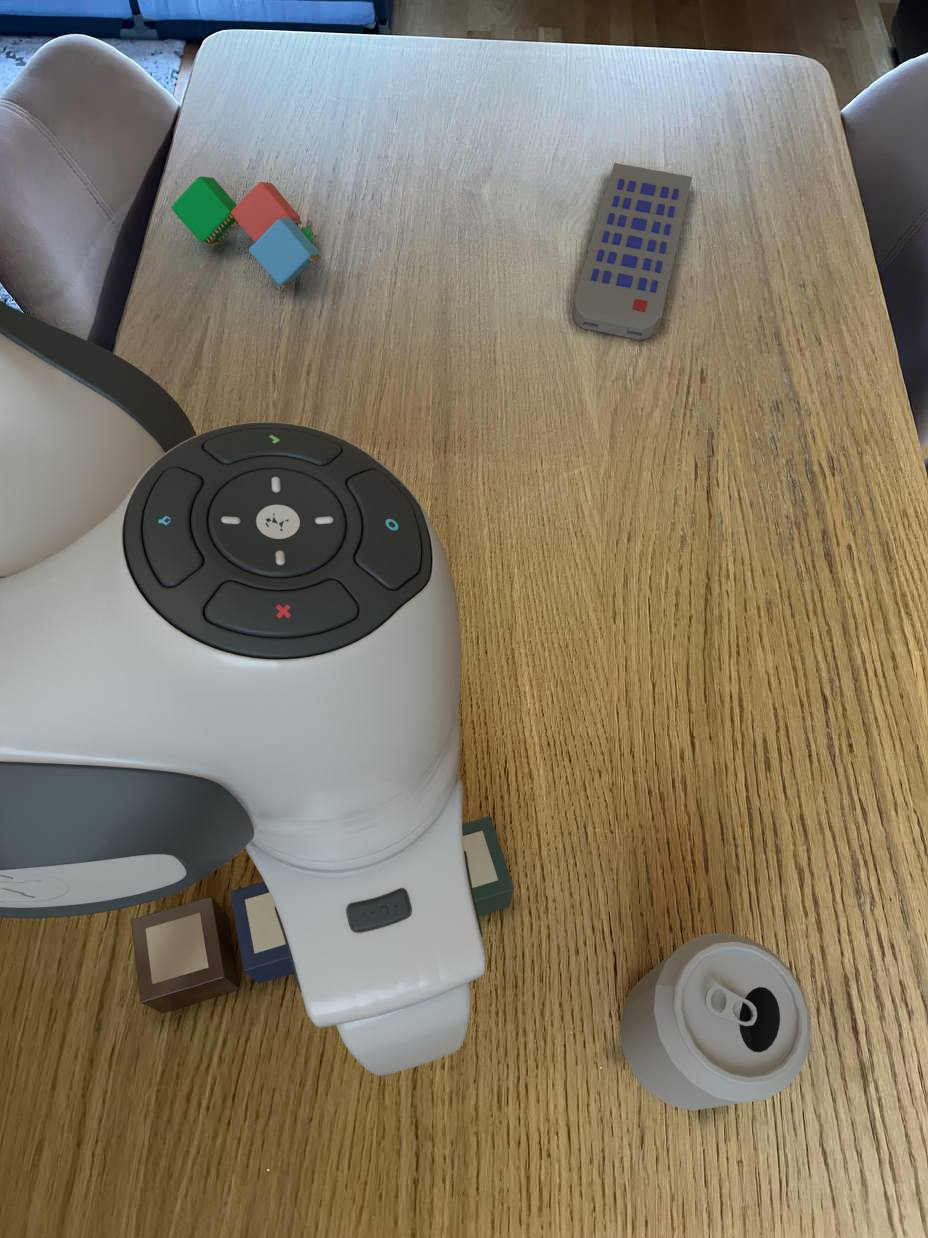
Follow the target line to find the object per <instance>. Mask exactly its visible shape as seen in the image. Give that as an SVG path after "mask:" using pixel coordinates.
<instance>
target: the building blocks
mask: <svg viewBox="0 0 928 1238" xmlns="http://www.w3.org/2000/svg"><path fill="white" fill-rule="evenodd" d="M170 208H171V211H173V213H174V214H175V215H176V216H177V217H178V218H179V219H180V221H181V222H182V223H183V225H185V227H187V229H188V230H189V231H190V232H191V233H192V234H193V235H194V237H195V238H196V239H197V240H198V241H199V242H200V243H201V244H204V246H212V245H213V246H214V245H219V244H220V242H223V239H225V238H226V237H225V236H228V235H229V234H230V233H231V231H233V230H234V228H236V227H237V226H236V224H237V225H239V226H240V227H241V228H242V229H243V230H244V231H245V233H246V234H247V235H248V236H249V237H250V238H251V240H252V241H253V242H254V243H253V244H252V245H251V246H250V247H249V249H248V252H249V253H250V254H251V256H252V257H253V258H254V259H255V261H257V263H258V265H260V266H261V267H262V268H263V269H264V271H265V272H266V273H267V274H268V275H269V277H270V278H271V279H272V280H273V281H274V283H275V284H277V286H279V287H281V288H282V289H287V288H290V287H293V286H295V283H294V281H295V280H296V279H297V278H298V277H299V276H300V275H301V274H302V273H303V272H304V271H305V270H306V269H307V268H308V267H309V266H310V265H311V264H312V263H313V262H316V261H320V260H322V257H321V256H320V251H319V250H318V249H317V248H316V247H315V245H314V240H315V239H314V237H313V236H312V235H313V233H312V232H313V231H312V230H311V229H310V227H307V226H302V227H299V226H300V225H299V224H302V223H303V221H302V220H301V216H300V215H299V214H298V212H297V211H296V210H295V209H294V208H293V206H292V205H291V204H290V203H289V202H288V201H287V200H286V198H285V197H284V196H283V194H282V193H281V192H280V191H279V190H278V189H277V187H276V186H275V185H274V183H272V182H268V181H267V182H266V181H265V182H264V181H259V182H258V183H257V184H256V185H255V186H254V187H253V188H252V189H251V190H250V191H249V192H248V193H247V194H246V195H245V196H244V197H243V198H242V199H241V200H240V202H239V203H236V202H235V201H234V199H233V198H231V196H230V195H229V194H228V193H227V192H226V190H225V189H224V188H223V186H221V184H220V183H219V182H218V181H217V180H216V178H214V177H212V176H198V177H197V178H196V179H195V180H194V181H193V182H192V183H191V185H189V187H187V189H185V191H184V192H183V193H182V194H181V195H180V196H179V197H178V199H177V200H175V201H174V203H173V204H172V205H171V207H170ZM232 226H233V227H232ZM227 232H228V233H229V234H228V233H227ZM219 241H220V242H219Z"/></svg>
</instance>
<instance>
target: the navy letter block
mask: <svg viewBox="0 0 928 1238" xmlns="http://www.w3.org/2000/svg"><path fill="white" fill-rule="evenodd" d="M229 895H230V900H231V905H232V911H233V918H234V924H235V929H236V935H237V940H238V947H239V952H240V958H241V964H242V970H243V972H244V973H245V974H246V975H248V976H249V978H251V979H252V980H253V981H254V982H255V983H256V985H257V984H258V985H260V984H263V983H266V982H270V981H273V980H276V979H280V978H283V977H286V976H290V975H294V971H293V967H292V964H291V960H290V956H289V953H288V949H287V946H286V943H285V939H284V936H283V933H282V930H281V927H280V924H279V921H278V918H277V915H276V912H275V904H274V901H273V899H272V896H271V894H270V892H269V890H268V888H267V886H266V884H265V882H264V880H263V881H260V882H257V883H253V884H250V885H246V886H243V887H240V888H237V889H232V890H231V891H229Z"/></svg>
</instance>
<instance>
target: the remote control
mask: <svg viewBox="0 0 928 1238" xmlns="http://www.w3.org/2000/svg"><path fill="white" fill-rule="evenodd" d="M692 179H693V176H689V175H684V174H679V173H673V172H668V171H661V170H656V169H652V168H646V167H645V168H644V167H640V166H635V165H629V164H624V163H618V162H614V163H613V165H612V169H611V172H610V176H609V179H608V183H607V186H606V190H605V193H604V196H603V199H602V203H601V206H600V210H599V213H598V217H597V220H596V223H595V225H594V230H593V233H592V235H591V236H592V237H591V240H590V243H589V246H588V248H587V249H588V250H587V253H586V256H585V259H584V264H583V266H582V269H581V273H580V277H579V280H578V284H577V287H576V291H575V293H574V298H573V304H572V310H571V316H572V319H573V321H574V323H575V324H576V325H578V326H579V327H580V328H582V329H585V330H590V331H594V332H599V333H605V334H610V335H615V336H619V337H624V338H628V339H629V338H630V339H635V340H639V341H640V340H646V339H650V338H652V337H653V336H654V335H655V334H656V333H657V332H658V331H659V327H660V323H661V320H662V316H663V311H664V307H665V303H666V298H667V293H668V289H669V284H670V279H671V276H672V271H673V266H674V261H675V257H676V253H677V248H678V244H679V239H680V234H681V230H682V225H683V221H684V216H685V212H686V207H687V203H688V199H689V195H690V189H691V184H692Z"/></svg>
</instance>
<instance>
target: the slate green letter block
mask: <svg viewBox="0 0 928 1238" xmlns="http://www.w3.org/2000/svg"><path fill="white" fill-rule="evenodd" d="M462 833H463V846H464V851H466V853H467V859H468V866H469V872H470V878H471V883H472V888H473V893H474V898H475V902H476V906H477V911H478V915H479V917H482V916H485V915H488V914H491V913H495V912H499V911H501V910H505V909H508V908H509V907H510V905H511V901H512V898H513V894H514V892H515V887H514V883H513V881H512V877H511V874H510V871H509V868H508V865H507V862H506V859H505V856H504V853H503V849H502V847H501V844H500V841H499V837H498V834H497V830H496V828H495V826H494V822H493V819H492V816H491V815H489V816H485V817H482V818H478V819H474V820H471V821H467V822H464V823H462Z"/></svg>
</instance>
